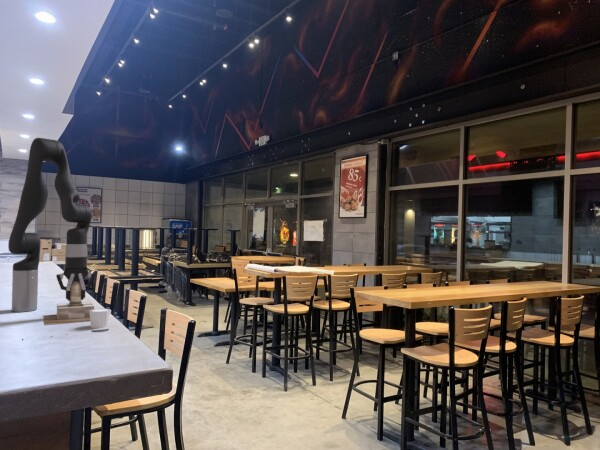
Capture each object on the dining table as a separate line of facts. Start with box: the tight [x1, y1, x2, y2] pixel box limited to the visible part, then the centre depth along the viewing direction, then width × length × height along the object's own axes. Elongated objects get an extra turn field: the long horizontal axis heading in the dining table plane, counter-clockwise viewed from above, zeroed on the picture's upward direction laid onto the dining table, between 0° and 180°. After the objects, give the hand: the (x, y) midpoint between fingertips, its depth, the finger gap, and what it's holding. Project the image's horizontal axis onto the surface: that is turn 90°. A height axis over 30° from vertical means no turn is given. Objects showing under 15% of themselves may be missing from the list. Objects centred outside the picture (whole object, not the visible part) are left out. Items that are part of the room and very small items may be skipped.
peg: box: [68, 282, 83, 307], centre depth 166 cm, size 4×4×12 cm
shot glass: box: [89, 308, 112, 333], centre depth 149 cm, size 7×7×7 cm
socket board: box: [42, 301, 95, 326], centre depth 161 cm, size 20×17×6 cm
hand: (75, 299), depth 166 cm, fingers closed on peg, 4 cm apart
